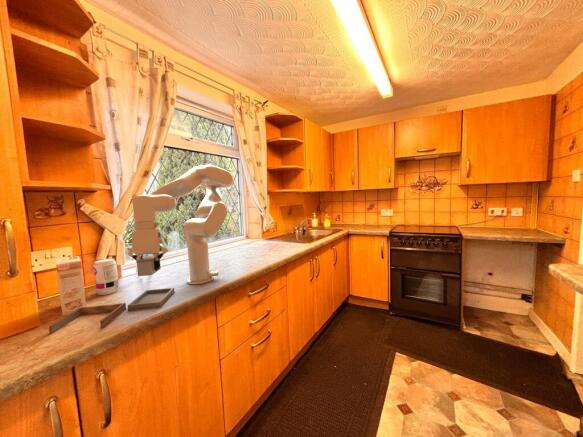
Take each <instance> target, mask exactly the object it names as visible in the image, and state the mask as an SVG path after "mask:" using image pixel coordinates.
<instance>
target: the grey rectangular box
mask: <svg viewBox="0 0 583 437" xmlns="http://www.w3.org/2000/svg"><path fill="white" fill-rule="evenodd" d="M154 261H155V258H154V256H153V255H146V256H143V258H142V259H140V260H138V261H136V260H135V262H136V263H135V264H136V268H137V277H146V276H153V275H154V274H156V273H157V272H158V271H160V270H161V269H162V267H161V265H160V268H159V269H158V270H157V271H155V267H154Z"/></svg>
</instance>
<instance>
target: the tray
mask: <svg viewBox="0 0 583 437" xmlns="http://www.w3.org/2000/svg"><path fill="white" fill-rule="evenodd" d="M174 293H175V287H166V288H155V289H147V290H145V291H143V292H142V293H141V294H140V295H138V296H137V297H136V298H135V299H134V300H132V301H131V302H130V303H129V304H128V305H127V304H126V307H127V312H129V311H137V310H138V311H139V310H145V309H146V310H147V309H156V308H157V309H159V308H162V306H163V305H164V304H165V303H166V302H167V301H168V300H169V299H170V297H172V295H173V294H174Z"/></svg>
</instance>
